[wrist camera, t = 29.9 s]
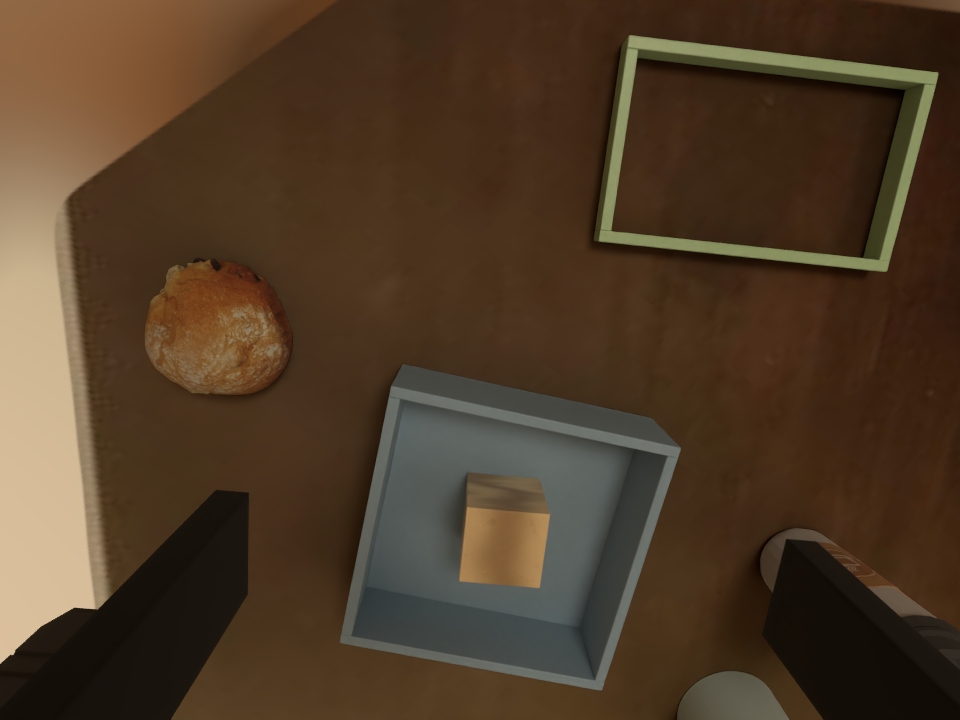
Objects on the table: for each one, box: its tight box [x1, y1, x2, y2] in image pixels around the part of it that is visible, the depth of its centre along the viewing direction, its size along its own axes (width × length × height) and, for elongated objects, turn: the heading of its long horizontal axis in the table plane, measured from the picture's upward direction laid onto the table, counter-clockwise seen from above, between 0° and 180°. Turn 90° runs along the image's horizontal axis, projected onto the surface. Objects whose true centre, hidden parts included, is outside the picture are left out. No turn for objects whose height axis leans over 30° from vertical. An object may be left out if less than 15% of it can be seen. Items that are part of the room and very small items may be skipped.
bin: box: [340, 364, 681, 691], centre depth 43 cm, size 21×21×6 cm
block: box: [459, 472, 550, 588], centre depth 43 cm, size 6×6×6 cm
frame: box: [594, 35, 938, 272], centre depth 40 cm, size 22×14×2 cm, turn 84°
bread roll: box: [144, 258, 292, 395], centre depth 41 cm, size 10×10×8 cm
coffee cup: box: [760, 528, 960, 669], centre depth 41 cm, size 8×8×15 cm
